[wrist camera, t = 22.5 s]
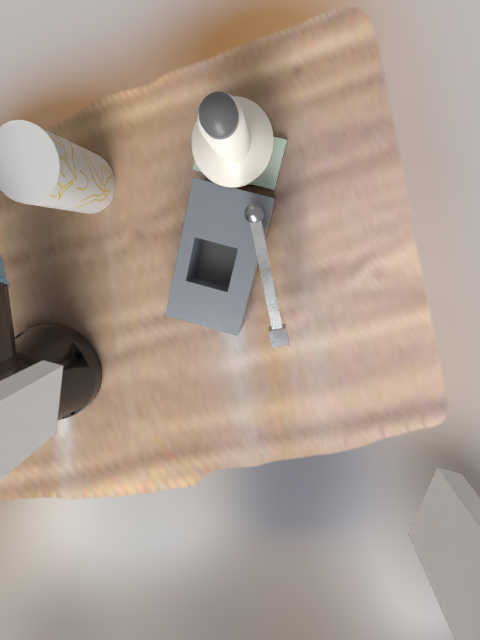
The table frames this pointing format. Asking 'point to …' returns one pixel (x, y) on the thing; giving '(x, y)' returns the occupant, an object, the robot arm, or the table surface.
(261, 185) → the mat
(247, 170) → the plug
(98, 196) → the cup
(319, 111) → the table surface
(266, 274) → the record player tonearm
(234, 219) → the socket block
